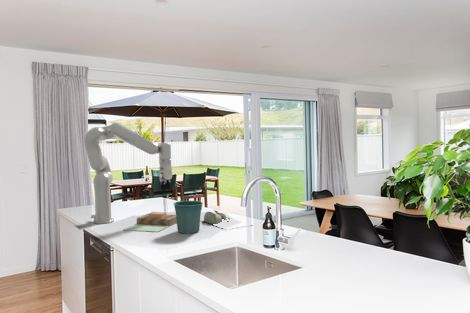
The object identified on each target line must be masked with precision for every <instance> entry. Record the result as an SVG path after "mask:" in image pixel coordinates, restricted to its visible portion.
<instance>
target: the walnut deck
mask: <svg viewBox="0 0 470 313" xmlns="http://www.w3.org/2000/svg"><path fill="white" fill-rule="evenodd" d="M136 224H142V225H160V226H169V227H171V226H173V225H175V224H177V219H176V214H167V213H166V217H163V218H149V213H147V214H144V215H141V216H138V217H137V218H136Z"/></svg>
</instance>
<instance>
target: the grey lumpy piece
mask: <svg viewBox="0 0 470 313" xmlns="http://www.w3.org/2000/svg"><path fill="white" fill-rule="evenodd" d="M213 210H214V212H215V213H213V211H206V212H205V213H204V216H203V220H202V221H201V220H200V223H203V224H205V223H206V225H208V224H209V226H211V225H212V226H211V227H214V225H213V224H218V223H220V222H222V219H224V220H227V219H226V218H228V219H229V220H230V217H227V216H226V215H225V214H224V213H222V212H219V211H218V210H216V209H213ZM227 222H229V221H227Z"/></svg>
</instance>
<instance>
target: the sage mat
mask: <svg viewBox="0 0 470 313" xmlns="http://www.w3.org/2000/svg"><path fill="white" fill-rule="evenodd" d="M167 228H170V226H160V225H142V224H137V223H136V224H133V225H131V226H128V227H126V228H124V229H123V231H131V232H148V233H159V232H161V231H163V230H165V229H167Z"/></svg>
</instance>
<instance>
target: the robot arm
mask: <svg viewBox="0 0 470 313" xmlns="http://www.w3.org/2000/svg"><path fill="white" fill-rule="evenodd" d="M114 138H117V139H120V140H121V141H123V142H124V143H127V144H129V145H130V146H133V147H135V148H137V149H139V150H141V151H143V152H145V153H147V154H148V155H157V154H158V163H159V171H158V172H159V173H158V174H159V176H158V177H159V179H158V180H159V183H160V191H166V190H170V189H171V180H172V178H173V168H172V167H173V166H172V145H171V143H170V142H160V143H159V142H153V141H151V140H150V139H147V138H146V137H143V136H142V135H141V134H139V133H138V132H137V131H134V130H133V129H130V128H129V127H127V126H125V125H123V124H122V123H119V122H112V123H111V124H110V125H105V126H102V127H99V126H98V127H97V126H95V127H91V128H90V129H89V130H88V131H87V132H86V134H85V136H84V139H83V140H84V147H85V151H86V155H87V158H88V162H89V166H90V168H91V169H92V170H93V171H94V172H95V174H96V175H95V176H94V177H93V189H94V208H95V209H94V210H95V212H94V213H95V214H91V216H90V219H93V220H92V223H93V224H97V225H99V224H100V225H103V224H109V223H113V222H114V221H115V219H114V218H112V200H111V198H112V197H111V185H110V184H112V182H113V178H114V177H113V174H112V169H111V166H110V163H109V160H108V158H106V157H105V156H104V155H103V153H102V149H101V146H100V143H99V142H101V141H106V140H109V139H114Z"/></svg>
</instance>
